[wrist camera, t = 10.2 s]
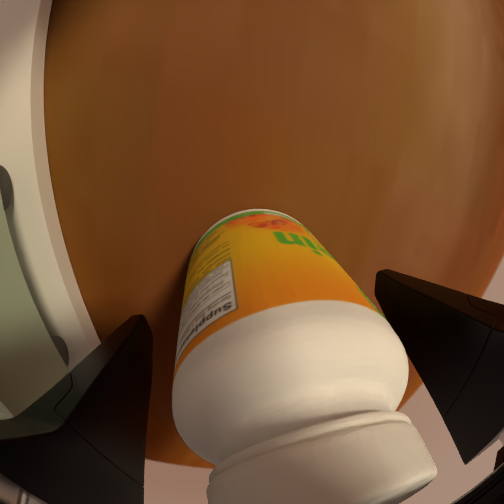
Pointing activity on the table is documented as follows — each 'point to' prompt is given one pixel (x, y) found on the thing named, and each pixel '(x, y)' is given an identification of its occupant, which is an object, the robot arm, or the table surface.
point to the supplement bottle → (290, 373)
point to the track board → (36, 178)
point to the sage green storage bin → (22, 330)
